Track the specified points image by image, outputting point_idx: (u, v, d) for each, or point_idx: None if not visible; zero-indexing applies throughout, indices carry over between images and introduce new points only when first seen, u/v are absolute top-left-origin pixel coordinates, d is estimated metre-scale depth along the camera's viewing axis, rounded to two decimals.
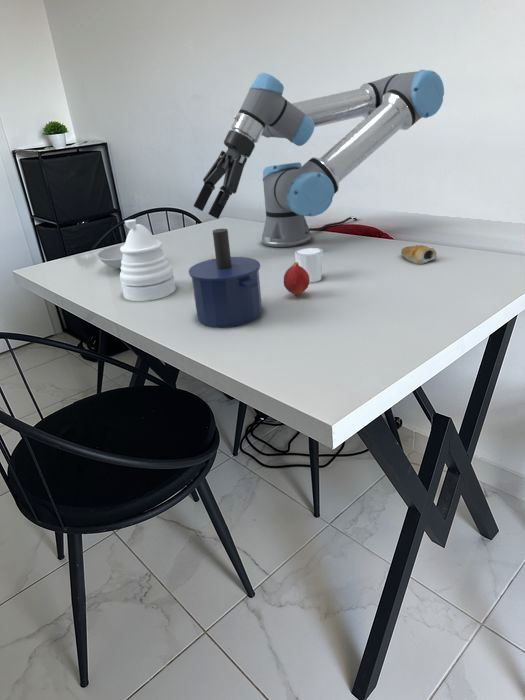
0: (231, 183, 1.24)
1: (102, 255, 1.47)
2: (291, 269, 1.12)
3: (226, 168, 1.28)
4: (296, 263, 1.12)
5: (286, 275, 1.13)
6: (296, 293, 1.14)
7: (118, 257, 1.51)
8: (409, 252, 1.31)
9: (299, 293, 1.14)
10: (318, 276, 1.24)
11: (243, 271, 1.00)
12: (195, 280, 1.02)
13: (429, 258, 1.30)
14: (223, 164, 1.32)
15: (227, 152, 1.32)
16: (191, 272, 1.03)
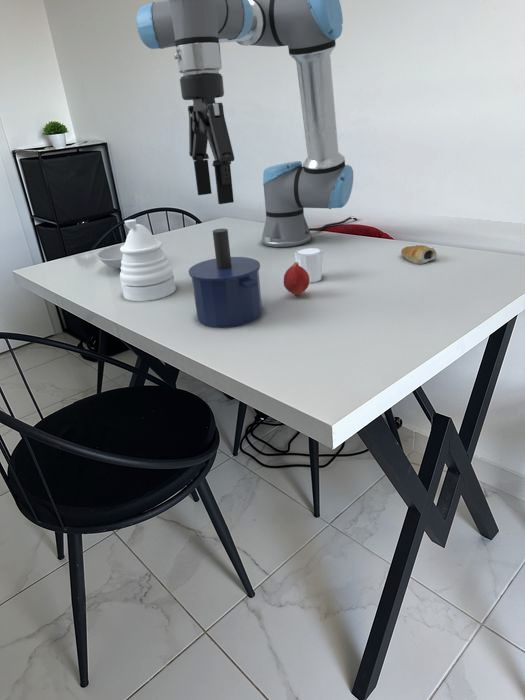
0: (222, 151, 0.86)
1: (102, 255, 1.47)
2: (291, 269, 1.12)
3: (205, 132, 0.90)
4: (296, 263, 1.12)
5: (286, 275, 1.13)
6: (296, 293, 1.14)
7: (118, 257, 1.51)
8: (409, 252, 1.31)
9: (299, 293, 1.14)
10: (318, 276, 1.24)
11: (243, 271, 1.00)
12: (195, 280, 1.02)
13: (429, 258, 1.30)
14: (199, 126, 0.93)
15: (195, 106, 0.93)
16: (191, 272, 1.03)
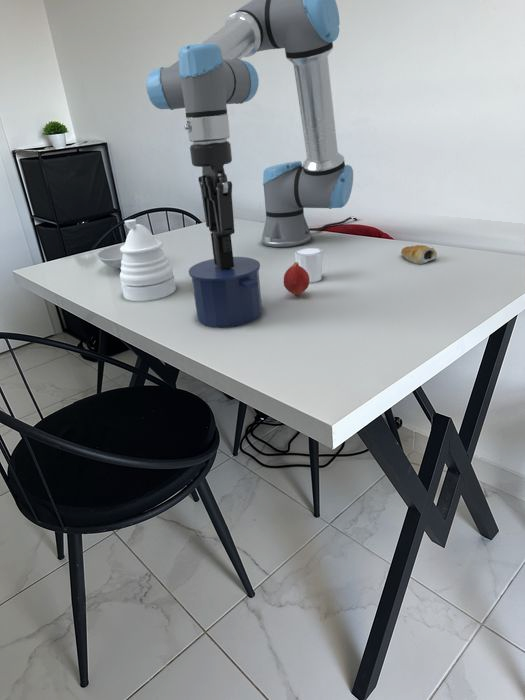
0: (224, 227, 0.96)
1: (102, 255, 1.47)
2: (291, 269, 1.12)
3: (212, 200, 0.96)
4: (296, 263, 1.12)
5: (286, 275, 1.13)
6: (296, 293, 1.14)
7: (118, 257, 1.51)
8: (409, 252, 1.31)
9: (299, 293, 1.14)
10: (318, 276, 1.24)
11: (243, 271, 1.00)
12: (195, 280, 1.02)
13: (429, 258, 1.30)
14: (208, 188, 0.98)
15: (203, 168, 0.98)
16: (191, 272, 1.03)
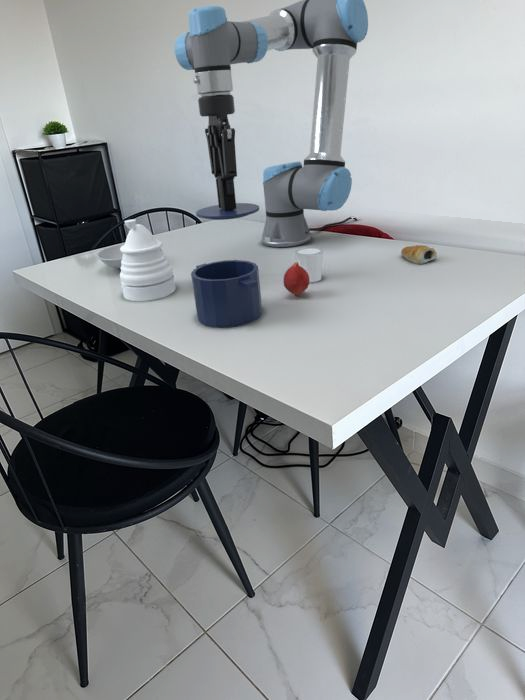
0: (228, 170, 1.09)
1: (102, 255, 1.47)
2: (291, 269, 1.12)
3: (217, 147, 1.10)
4: (296, 263, 1.12)
5: (286, 275, 1.13)
6: (296, 293, 1.14)
7: (118, 257, 1.51)
8: (409, 252, 1.31)
9: (299, 293, 1.14)
10: (318, 276, 1.24)
11: (244, 211, 1.14)
12: (195, 280, 1.02)
13: (429, 258, 1.30)
14: (213, 137, 1.12)
15: (209, 119, 1.12)
16: (198, 213, 1.16)
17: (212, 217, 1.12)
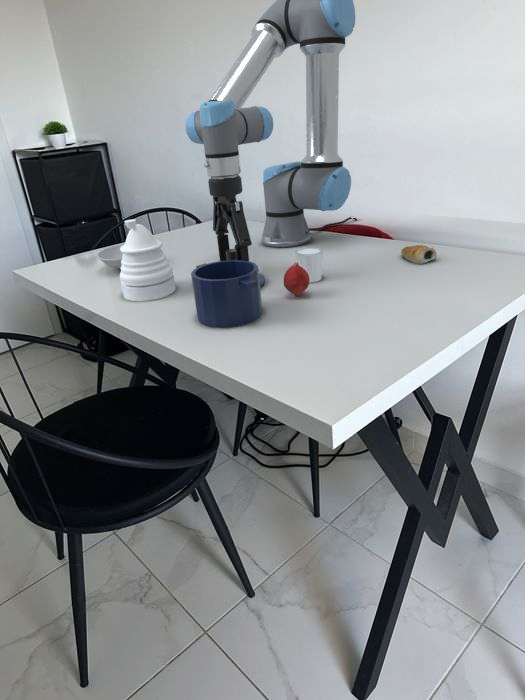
0: (242, 238, 1.12)
1: (102, 255, 1.47)
2: (291, 269, 1.12)
3: (228, 221, 1.16)
4: (296, 263, 1.12)
5: (286, 275, 1.13)
6: (296, 293, 1.14)
7: (118, 257, 1.51)
8: (409, 252, 1.31)
9: (299, 293, 1.14)
10: (318, 276, 1.24)
11: None
12: (195, 280, 1.02)
13: (429, 258, 1.30)
14: (222, 213, 1.19)
15: (219, 198, 1.19)
16: None
17: None
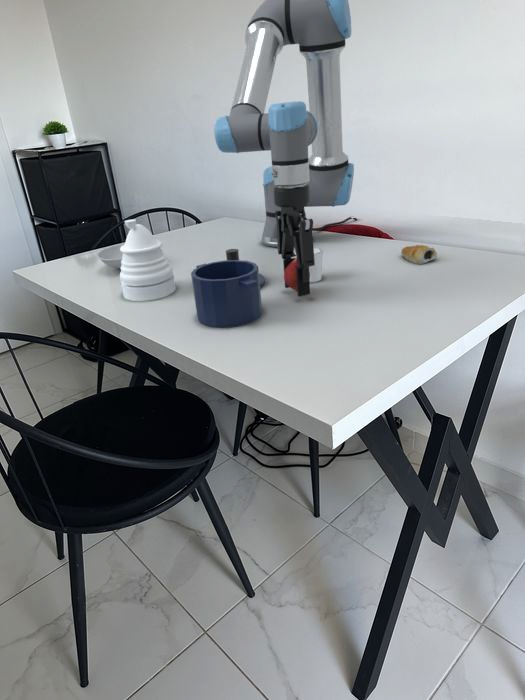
0: (306, 260, 1.06)
1: (102, 255, 1.47)
2: (291, 265, 1.12)
3: (293, 236, 1.07)
4: (296, 259, 1.12)
5: (286, 271, 1.13)
6: None
7: (118, 257, 1.51)
8: (409, 252, 1.31)
9: None
10: (318, 276, 1.24)
11: None
12: (195, 280, 1.02)
13: (429, 258, 1.30)
14: (286, 225, 1.10)
15: (282, 207, 1.09)
16: None
17: None
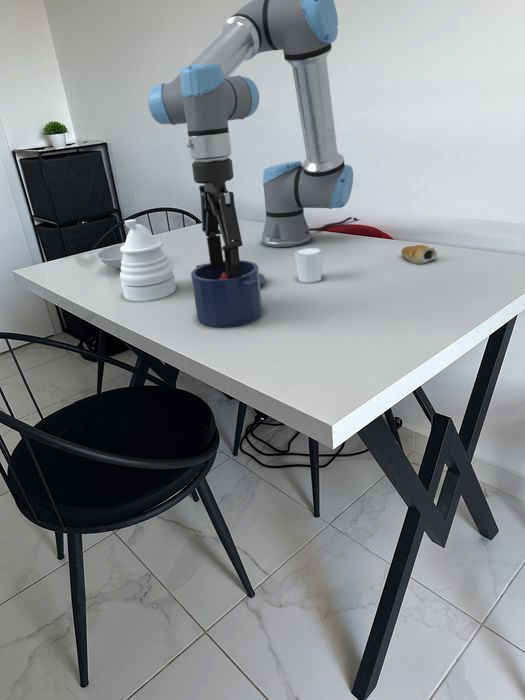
0: (231, 238, 0.94)
1: (102, 255, 1.47)
2: (219, 278, 1.09)
3: (216, 215, 0.96)
4: (223, 272, 1.09)
5: None
6: None
7: (118, 257, 1.51)
8: (409, 252, 1.31)
9: None
10: (318, 276, 1.24)
11: None
12: (195, 280, 1.02)
13: (429, 258, 1.30)
14: (210, 204, 0.99)
15: (205, 185, 0.99)
16: None
17: None
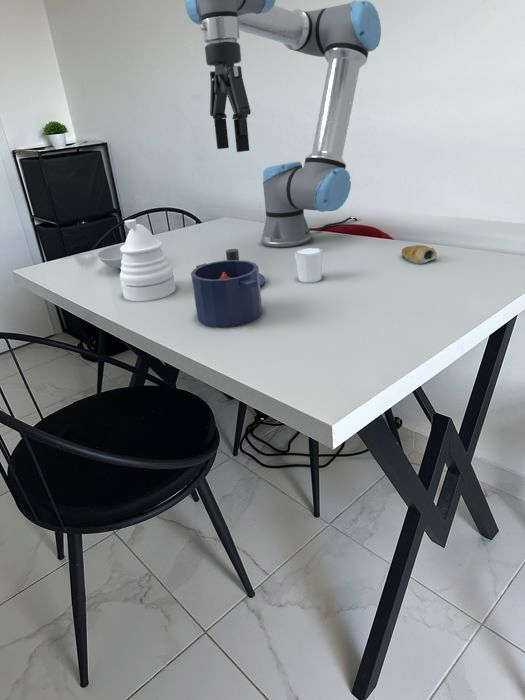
0: (240, 106, 1.05)
1: (102, 255, 1.47)
2: (219, 278, 1.09)
3: (226, 91, 1.09)
4: (223, 272, 1.09)
5: None
6: None
7: (118, 257, 1.51)
8: (409, 252, 1.31)
9: None
10: (318, 276, 1.24)
11: None
12: (195, 280, 1.02)
13: (429, 258, 1.30)
14: (220, 87, 1.12)
15: (216, 71, 1.12)
16: None
17: None
